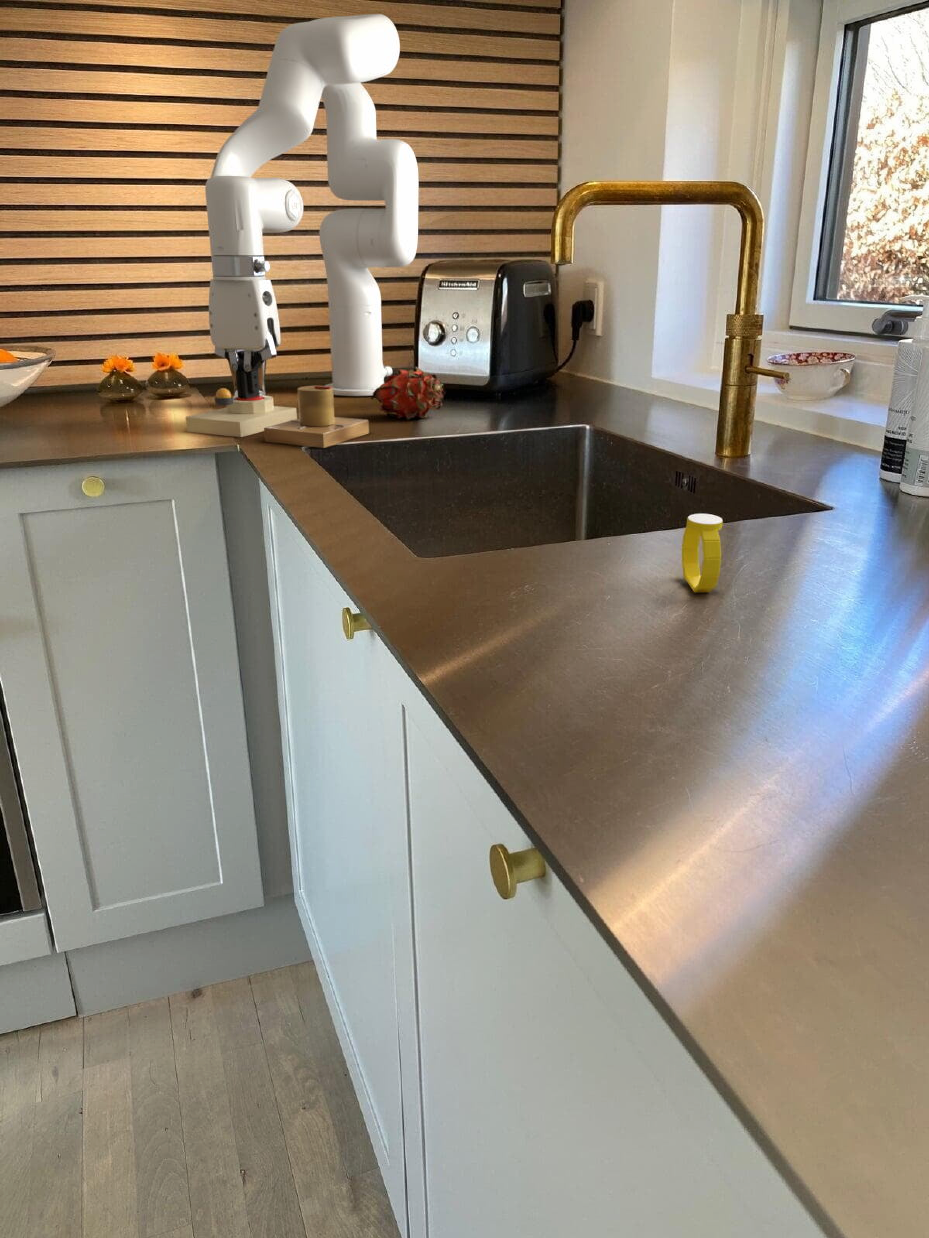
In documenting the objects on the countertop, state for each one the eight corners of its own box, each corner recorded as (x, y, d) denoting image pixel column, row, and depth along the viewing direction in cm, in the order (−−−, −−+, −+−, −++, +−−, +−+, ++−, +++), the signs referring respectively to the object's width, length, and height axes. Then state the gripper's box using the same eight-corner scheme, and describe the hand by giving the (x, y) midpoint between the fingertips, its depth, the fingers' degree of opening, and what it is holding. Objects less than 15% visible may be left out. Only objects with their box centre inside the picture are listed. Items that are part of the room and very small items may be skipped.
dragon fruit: (451, 428, 152) (378, 439, 152) (444, 390, 156) (373, 402, 156) (447, 390, 145) (370, 402, 144) (439, 351, 149) (365, 363, 149)
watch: (670, 575, 81) (677, 508, 78) (702, 574, 81) (709, 507, 79) (691, 600, 75) (698, 528, 73) (725, 599, 75) (733, 527, 73)
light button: (248, 405, 147) (247, 394, 147) (269, 407, 146) (268, 396, 145) (231, 409, 144) (230, 397, 143) (252, 411, 142) (251, 399, 142)
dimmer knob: (293, 425, 134) (290, 387, 132) (311, 419, 139) (309, 382, 137) (323, 427, 133) (321, 389, 131) (341, 421, 137) (339, 384, 135)
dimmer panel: (312, 427, 143) (312, 413, 143) (369, 433, 139) (368, 418, 139) (264, 441, 133) (263, 426, 133) (323, 448, 129) (323, 432, 129)
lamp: (223, 402, 141) (221, 386, 140) (236, 403, 140) (235, 387, 139) (211, 404, 139) (210, 388, 138) (225, 406, 138) (224, 390, 137)
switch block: (246, 417, 152) (244, 392, 150) (297, 422, 148) (295, 396, 146) (187, 431, 140) (184, 404, 139) (240, 437, 136) (238, 409, 135)
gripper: (296, 269, 137) (303, 397, 144) (215, 268, 143) (225, 390, 150) (264, 270, 131) (273, 404, 138) (181, 269, 137) (194, 397, 144)
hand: (248, 396), depth 144 cm, fingers closed
